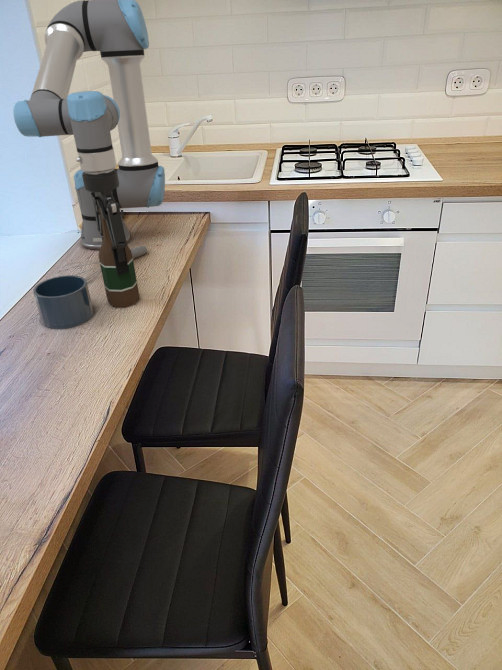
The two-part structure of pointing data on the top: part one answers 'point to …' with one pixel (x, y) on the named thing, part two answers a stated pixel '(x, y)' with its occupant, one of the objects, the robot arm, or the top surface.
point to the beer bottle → (120, 286)
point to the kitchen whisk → (135, 253)
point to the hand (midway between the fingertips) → (117, 267)
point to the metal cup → (63, 301)
